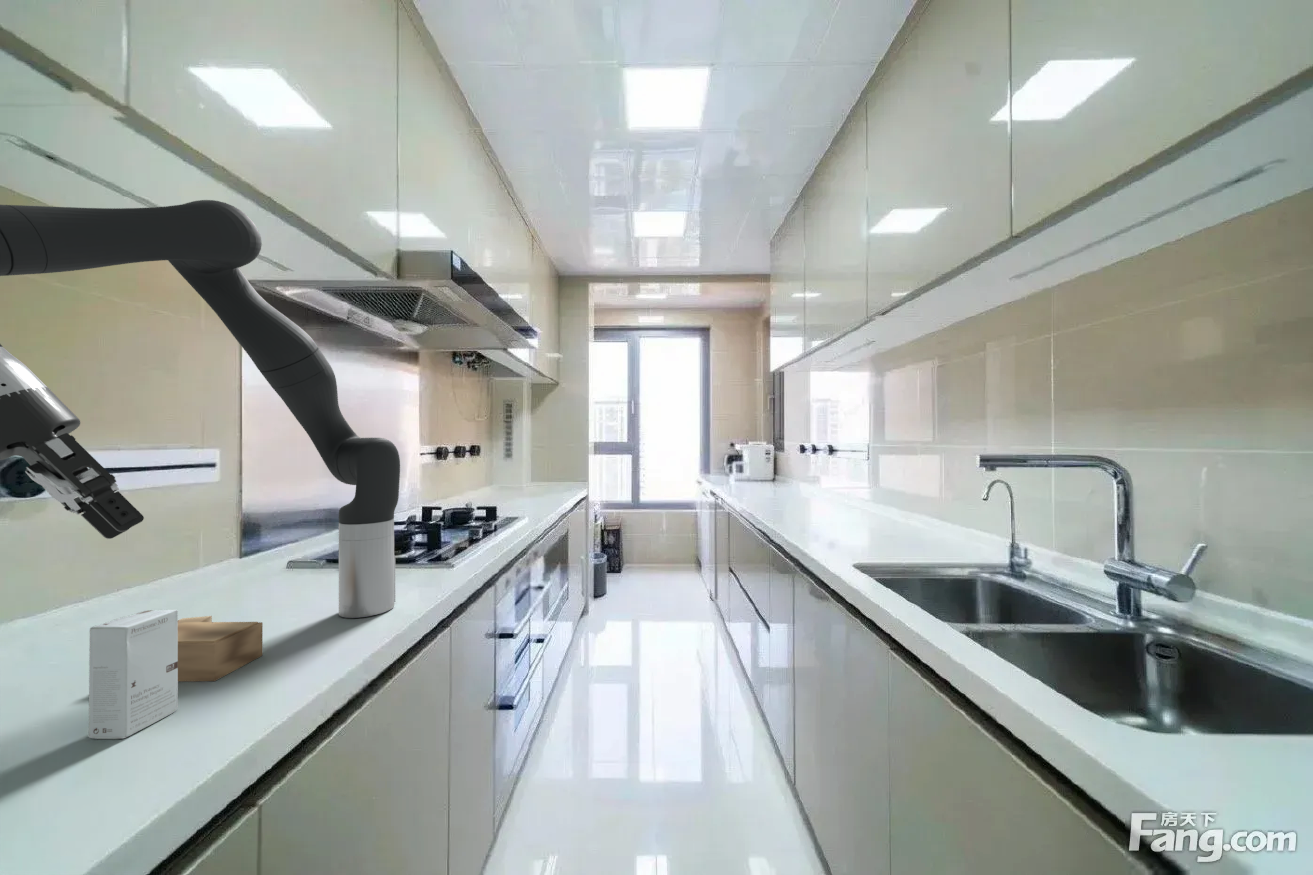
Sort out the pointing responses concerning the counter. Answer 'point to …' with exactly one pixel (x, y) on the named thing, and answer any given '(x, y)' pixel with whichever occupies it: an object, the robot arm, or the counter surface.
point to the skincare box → (132, 673)
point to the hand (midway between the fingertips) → (126, 530)
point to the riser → (216, 648)
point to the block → (196, 619)
